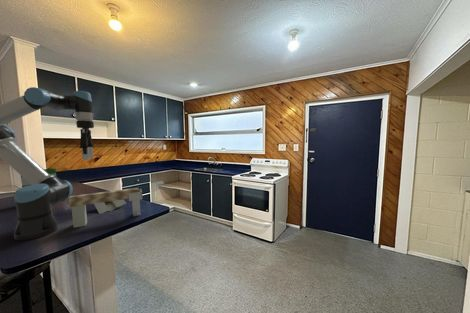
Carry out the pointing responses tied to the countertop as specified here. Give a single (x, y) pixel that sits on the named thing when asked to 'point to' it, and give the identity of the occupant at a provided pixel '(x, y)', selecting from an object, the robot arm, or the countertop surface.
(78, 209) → the post
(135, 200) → the cup bracket
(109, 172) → the countertop surface
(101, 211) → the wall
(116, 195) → the rail
